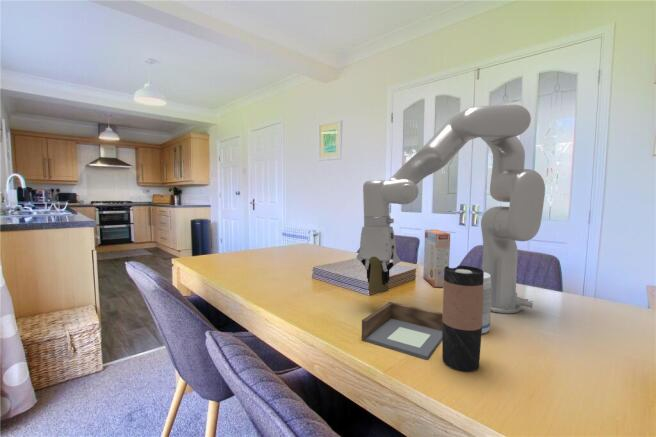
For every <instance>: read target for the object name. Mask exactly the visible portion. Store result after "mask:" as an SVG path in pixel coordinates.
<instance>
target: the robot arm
mask: <svg viewBox="0 0 656 437" xmlns="http://www.w3.org/2000/svg"><path fill="white" fill-rule="evenodd" d="M531 122H532V117H531V114H530V111H529V110H528V109H527V108H526V107H524V106H522V105H519V104H501V105H500V104H499V105H497V104H496V105H477V106H472V107H469V108H466V109H464V110H463V111H460V112H459V113H456V114H455V115H453V116H452V117H450V118H449V119H448V120H447V121H446V123H444V124H443V125H442V126H441V127H440V129H438V131H437V132H436V133H435V134H434V135H433V136H432V137H431V139H429V141H427V142H426V144H425V145H423V147H422V148H421V149H420V150H418V151H417V152H416V153H415V154H413V156H412V157H411V158H410V159H409V160H407V161H406V163H404V164H403V165H402V166H401V167H400V168H399V169H398V170H397V171H396V172H395V173H394V174H393V176H391V177H390V178H389V180H383V179H376V180H367V181H365V182H364V183H363V185H362V186H363V187H362V193H363V195H362V198H363V226H362V227H361V232H360V242H359V252H358V254H357V255H356V260H358V261H359V262H360V263H361V264H362V266H364V269H365V270H366V279H367V284H369V279H370V268H371V264H370V263H369V259H370V258H371V257H377V258H378V259H379V260H380V261H382V265H383V271H382V284H383V285H385V284H386V283H387V284H388V283H389V282H390V270H392V268H393V267H394V266H396V265H398V264H399V263H400V262H401V259H400V257H399V256H398V254H397V244H396V237H395V232H394V229H393V226H391V224H394V222H395V220H394V218H392V217H391V216H390V204H397V205H408V204H411V203H413V202H415V200H416V199H417V197H418V195H419V187H418V185H417V184H418V183H420V182H421V181H423V180H424V179H425V178H427V177H429V176H430V175H432V174H434V173H437V172H438V171H439V170H441V169H442V168H444V167H446V165H447V164H448V163H450V161H451V160H452V159H453V158H454V157H455V156H456V155H457V154H458V153H459V152H460V151H461V149H462V148H463V147H464V146H465V145H466V144H467V143H468V142H469V141H471V140H473V139H474V140H475V139H478V138H481V140H482V141H483V142H484V143H485V144H486V145H488V147H489V148H490V150H491V152H492V169H491V176H490V184H489V194H490V196H491V198H492V199H493V200H494V201H497V202H502V203H509V206H502V205H501V206H492V207H490V208H489V209H487V210H486V211H485V212H484V213H483V215H482V216H481V219H480V228H481V236H482V268H481V269H482V270H483V272H486V273H488V274H490V275H491V312H493V313H501V314H516V313H520V312H521V310H522V307H525V308H529V309H530V308H531V309H533V306H534V304H533V302H534V301H532V300H529V299H528V298H521V297H520V296H518V292H517V278H518V277H517V274H518V272H517V271H518V258H519V257H518V255H519V254H518V253H519V252H518V246H517V245H518V244H517V242H527V241H530V240H532V239H533V238H535V237H536V235H537V234H538V233H539V231H540V228H541V224H542V217H543V211H544V210H543V209H544V203H545V196H546V184H545V180H544V178H543V176H542V175H541V174H540V173H539V172H537V171H536V170H534V169H529V168H525V161H526V160H525V159H526V153H525V148H524V145H523V143H522V142H521V140H520V139H519V138H518V136H520V135H523V134H524V133H525V132H526V131H527V130H528V129H529V127H530V124H531ZM391 260H392V261H391ZM521 306H522V307H521Z"/></svg>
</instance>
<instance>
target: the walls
mask: <svg viewBox="0 0 656 437" xmlns="http://www.w3.org/2000/svg"><path fill="white" fill-rule="evenodd" d="M442 316H443V312H440V311H435V310H430V309H426V308H422V307H418V306H417V307H416V306H411V305H407V304H401V303H396V302H391V301H388V302H387V303H385V304H384V305H382V306H380V307H379V308H377V309H376V310H375V311H373V312H372V313H370V314H369V315H367V316H366V317H364V318H363V319H361V341H363V340H364V341H363V342H366V341H365V340H366V338H367V337H368V336H370V335H371V334H372V333H373V332H375V331H376V330H377V329H378V328H380V327H381V326H382V325H383V324H385V323H386V322H387V321H389V320H390V319H396V320H400V321H404V322H408V323H412V324H416V325H420V326H424V327H428V328H433V329H437V330H441V331H442ZM363 338H365V339H363Z"/></svg>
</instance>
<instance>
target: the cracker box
mask: <svg viewBox="0 0 656 437" xmlns="http://www.w3.org/2000/svg"><path fill="white" fill-rule="evenodd" d="M423 249H424V250H423V277H422V278H423V279H424V280H425V281H427V283H429V285H431V286H432V287H433V288H444V269H445V267H446V266H448V267H449V268H450V255H451V254H450V250H451V233H449V232H445V231H442V230H439V229H424V246H423Z"/></svg>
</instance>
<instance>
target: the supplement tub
mask: <svg viewBox="0 0 656 437" xmlns="http://www.w3.org/2000/svg"><path fill="white" fill-rule="evenodd" d="M491 313H492V311H491V275H490V274H488V273H486V272H484V280H483V314H482V334H486V333H487V332H489V331H490V329H491Z"/></svg>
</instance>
